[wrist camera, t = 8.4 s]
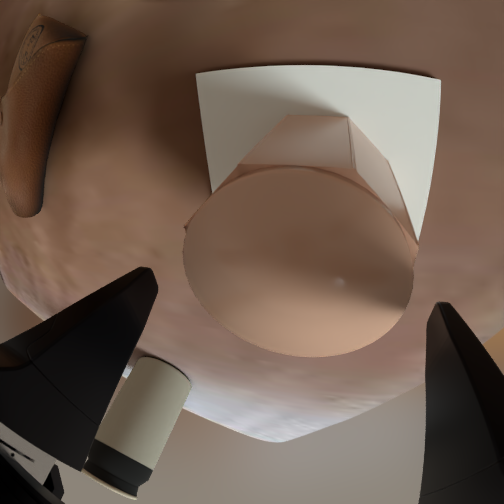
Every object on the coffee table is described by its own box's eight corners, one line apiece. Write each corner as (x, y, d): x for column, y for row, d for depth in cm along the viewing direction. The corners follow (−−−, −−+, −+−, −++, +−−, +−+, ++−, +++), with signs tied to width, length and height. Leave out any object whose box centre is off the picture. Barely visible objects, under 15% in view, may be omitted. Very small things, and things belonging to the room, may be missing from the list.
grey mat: (437, 79, 10) (440, 80, 10) (405, 275, 17) (406, 281, 17) (200, 72, 13) (195, 73, 13) (226, 256, 20) (223, 261, 20)
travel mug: (129, 349, 35) (64, 460, 21) (179, 362, 32) (113, 493, 19) (153, 381, 39) (102, 479, 26) (200, 394, 37) (150, 505, 23)
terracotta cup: (391, 120, 12) (441, 187, 6) (377, 244, 16) (383, 366, 10) (246, 115, 14) (158, 172, 7) (257, 234, 18) (205, 340, 12)
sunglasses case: (36, 6, 11) (-9, 26, 7) (107, 23, 15) (77, 44, 11) (3, 166, 22) (-22, 211, 18) (54, 181, 26) (36, 228, 22)
